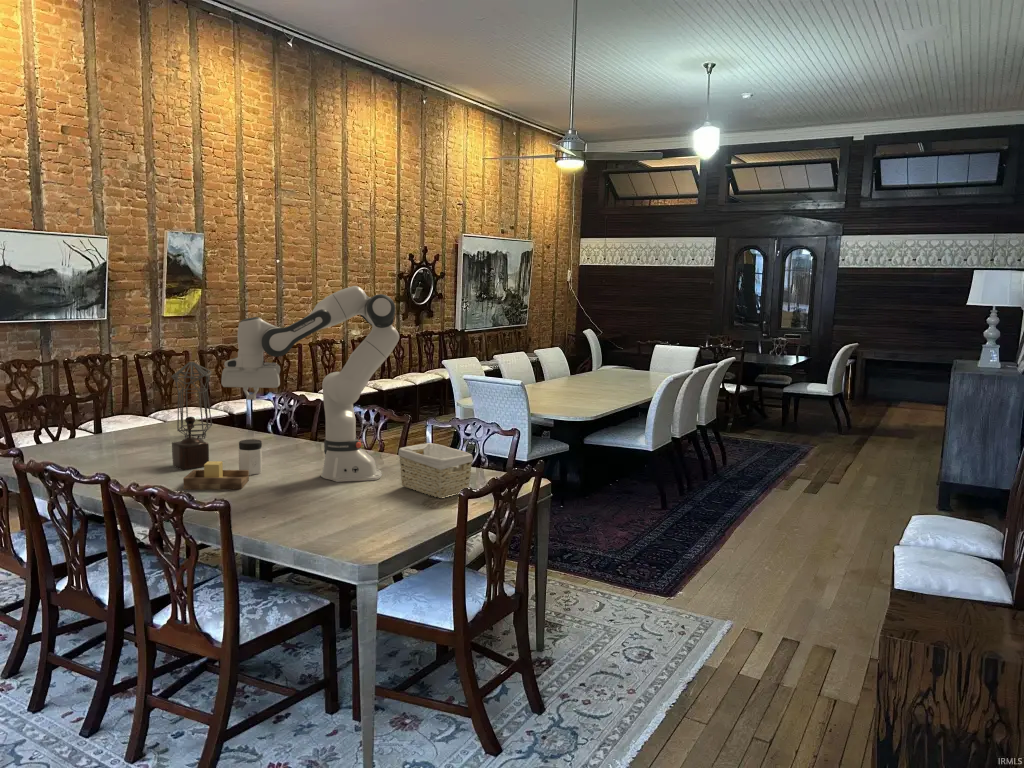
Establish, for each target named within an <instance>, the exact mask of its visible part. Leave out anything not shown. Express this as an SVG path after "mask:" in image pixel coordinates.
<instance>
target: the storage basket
mask: <svg viewBox="0 0 1024 768" xmlns="http://www.w3.org/2000/svg"><path fill="white" fill-rule="evenodd" d="M421 452H422V453H421ZM398 456H399V464H400V465H399V467H400V480H401V485H402V487H403V488H406V489H410V490H412V489H413V491H415V490H416V492H418V493H422V494H423V493H425V494H424V495H426V494H428V495H427V496H430V495H431V497H433V496H434V497H433V498H436V497H439V498H442V497H446V496H448V495H452V494H456V493H457V495H456V496H459V495H458V493H459V492H460V490H461V489H463V488H467V487H469V488H470V483H471V475H472V472H471V471H472V463H473V462H474V458H473V454H471V453H469V452H467V451H463V450H460V449H456V448H452V447H448V446H446V445H444V444H439V443H432V442H428V443H420V444H415V445H408V446H404V447H399V449H398ZM439 498H438V499H439Z"/></svg>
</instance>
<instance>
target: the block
mask: <svg viewBox="0 0 1024 768" xmlns="http://www.w3.org/2000/svg"><path fill="white" fill-rule="evenodd" d="M223 467H224V466H223V461H218V460H217V461H213V460H209V461H208V462H207V463H205V464H204V467H203V470H204V477H223V470H224V468H223Z"/></svg>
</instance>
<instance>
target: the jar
mask: <svg viewBox="0 0 1024 768" xmlns="http://www.w3.org/2000/svg"><path fill="white" fill-rule="evenodd" d="M262 442H263V441H262V440H261V439H255V438H254V439H253V438H252V439H251V438H250V439H243V440H242V439H241V440H240V441H239V442H238V470H249V476H252V475H260V474H261V473H262V471H263V447H262V445H263V443H262Z"/></svg>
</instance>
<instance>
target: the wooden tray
mask: <svg viewBox="0 0 1024 768" xmlns="http://www.w3.org/2000/svg"><path fill="white" fill-rule="evenodd" d="M249 477H250V475H249V470H239V469H223V477H204V469H192V471H190V472H189V473H188V474H187V475H186V476H184V477H183V480H182V481H183V490H186V489H188V490H196V491H197V490H199V491H201V490H203V491H205V490H209V491H211V490H212V491H214V490H217V491H218V490H220V491H221V490H226V491H227V490H228V491H229V490H232V491H233V490H234V491H235V490H236V491H238V490H243V488H244V487H245V486H246V484H247V483H248V482H249V480H250V478H249Z"/></svg>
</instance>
